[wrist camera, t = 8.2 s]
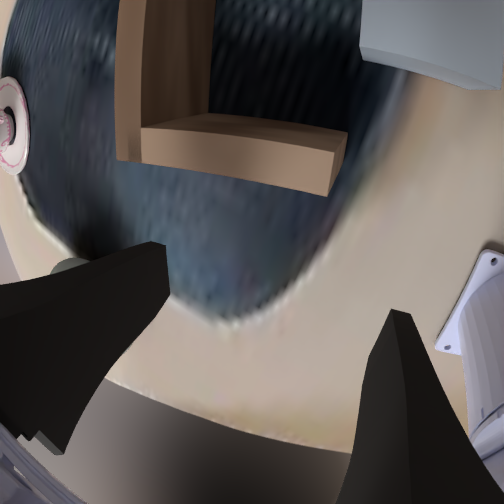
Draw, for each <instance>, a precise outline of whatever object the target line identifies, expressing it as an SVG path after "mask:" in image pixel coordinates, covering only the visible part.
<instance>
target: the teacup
mask: <svg viewBox="0 0 504 504" xmlns="http://www.w3.org/2000/svg"><path fill="white" fill-rule="evenodd" d="M6 106H9V107H11V108H12V110H13V112H14V115H15V119H16V138H15V141H14V143H13V144H12V145H8V144H9V142H10V141H11V140H12V139H13V136H14V123H13V119H12V117H11V116H10V115H9V114H6V113H5V112H4V111H3V110H4V108H5V107H6ZM29 141H30V128H29V115H28V109H27V104H26V99H25V97H24V94H23V91H22V88H21V86H20V85H19V83H18V82H17V80H16V79H14V78H12V77H10V76H8V77H5V78H2V79H1V80H0V165H1V167H2V168H3V169H4V170H5V171H6V172H7V173H8V174H11V175H16V174H18V173H20V172H21V171H22V170H23V168H24V166H25V164H26V161H27V157H28V153H29Z"/></svg>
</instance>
